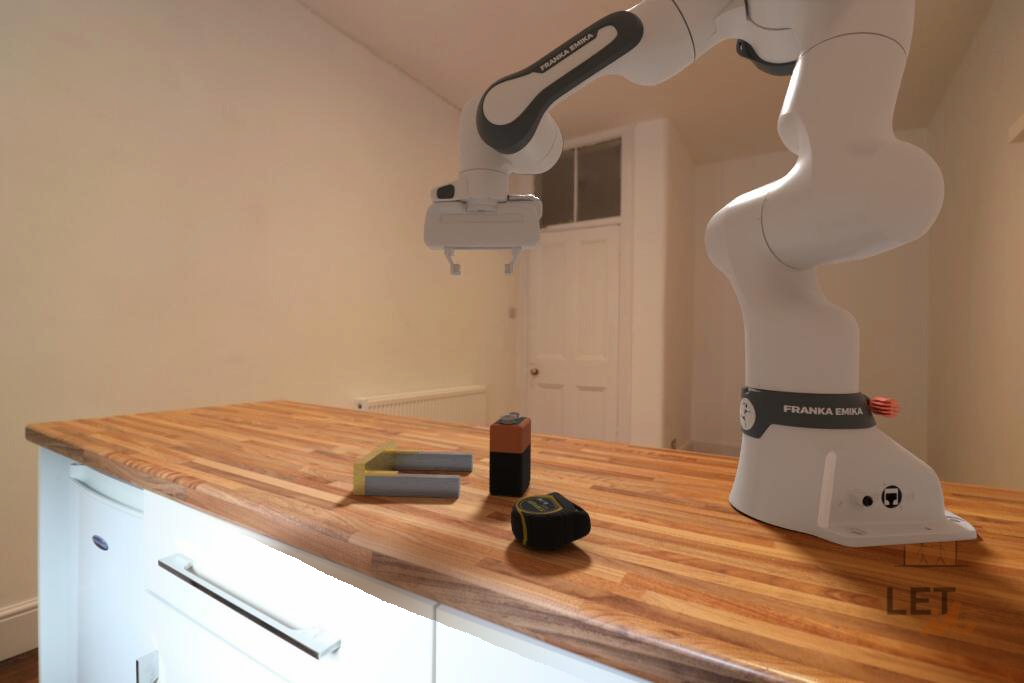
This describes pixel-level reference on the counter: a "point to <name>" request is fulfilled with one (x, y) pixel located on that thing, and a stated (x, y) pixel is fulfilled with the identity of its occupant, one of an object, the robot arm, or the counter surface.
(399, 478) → the yellow grey u-shaped bracket
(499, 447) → the battery
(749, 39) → the robot arm
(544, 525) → the tape measure
